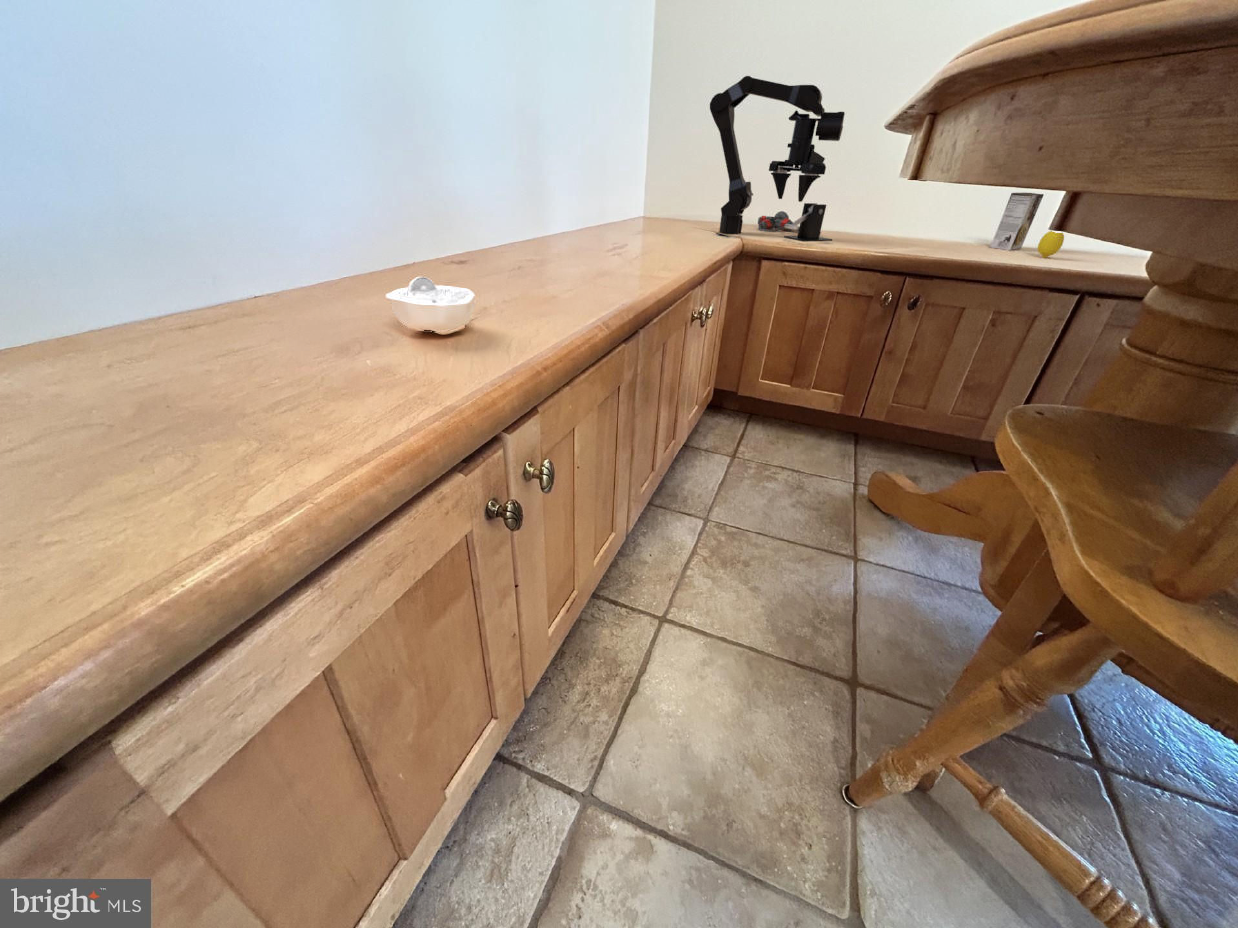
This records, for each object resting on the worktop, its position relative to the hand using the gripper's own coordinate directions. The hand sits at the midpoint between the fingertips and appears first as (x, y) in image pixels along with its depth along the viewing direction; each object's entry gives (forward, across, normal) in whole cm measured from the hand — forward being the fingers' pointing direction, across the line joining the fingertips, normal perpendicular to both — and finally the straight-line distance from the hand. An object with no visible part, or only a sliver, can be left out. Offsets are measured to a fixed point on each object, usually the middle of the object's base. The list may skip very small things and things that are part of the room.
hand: (789, 200), depth 153 cm
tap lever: (+6, -3, -5) cm, 8 cm away
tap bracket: (+12, -3, -8) cm, 14 cm away
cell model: (+12, -66, +113) cm, 132 cm away
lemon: (+11, -43, -64) cm, 78 cm away
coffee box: (+11, -26, -72) cm, 78 cm away
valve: (+12, +15, -13) cm, 23 cm away
